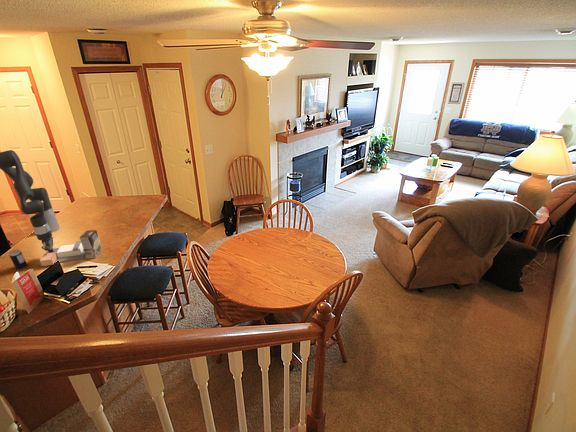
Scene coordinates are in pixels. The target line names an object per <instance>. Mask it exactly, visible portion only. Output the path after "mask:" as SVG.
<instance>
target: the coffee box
mask: <svg viewBox="0 0 576 432" xmlns="http://www.w3.org/2000/svg"><path fill="white" fill-rule="evenodd" d="M79 241H81V243H82V246H83V249H84V252H85V257H86V259H96V258H97V257H98V256H99V255H100V254H101V253H102V252H103V247H102V244H101V240H100V237H99V234H98V231H97V230H96V229H91V230H90V229H89V230H86V231H85V232H83V234H82V235H80V237H79Z"/></svg>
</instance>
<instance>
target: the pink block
mask: <svg viewBox="0 0 576 432" xmlns="http://www.w3.org/2000/svg"><path fill="white" fill-rule="evenodd" d="M56 259H57V255H56V252H53V253H46V252H45V253H44V254H43V255H42V257H41V258H40V260H39V263H40V262H41V265H42V266H41V267H46V266H52V265H55V264H56V263H55V261H56ZM54 263H55V264H54Z"/></svg>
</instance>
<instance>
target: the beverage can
mask: <svg viewBox="0 0 576 432" xmlns="http://www.w3.org/2000/svg"><path fill="white" fill-rule="evenodd" d="M8 254H9V255H8V256H9V258H10V260H11V261H12V264H13V266H14V268H15V270H19V271H21V270H25V269H26V268H27V267H28V263H27V261H26V259H25V256H24V255H23V254H24V253H22V251H21V250H20V249H13V250H10V252H9V253H8Z"/></svg>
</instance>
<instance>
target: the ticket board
mask: <svg viewBox="0 0 576 432" xmlns="http://www.w3.org/2000/svg"><path fill="white" fill-rule="evenodd" d="M53 251H54V252H56V255H57V259H56V261H60V263H59V264H61V263H68V262H73V261H79V260H80V261H81V260H84V258H85V257H86V255H85V252H84V249H83V246H82V243H81V240H78V241H76V242H75V243H73V244H66V245H59V247H53ZM46 253H49V252H48V251H45V254H46ZM56 261H55V262H56ZM38 266H39V267H43V266H42V265H41V262H40V261H39V263H38Z"/></svg>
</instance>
